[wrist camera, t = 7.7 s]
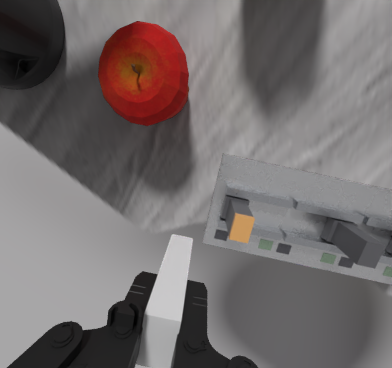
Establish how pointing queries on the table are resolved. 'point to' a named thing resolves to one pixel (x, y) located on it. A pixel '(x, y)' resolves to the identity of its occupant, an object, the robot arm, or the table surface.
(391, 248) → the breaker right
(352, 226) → the breaker mid
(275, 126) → the table surface
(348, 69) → the table surface
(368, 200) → the breaker panel
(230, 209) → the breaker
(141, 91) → the apple
